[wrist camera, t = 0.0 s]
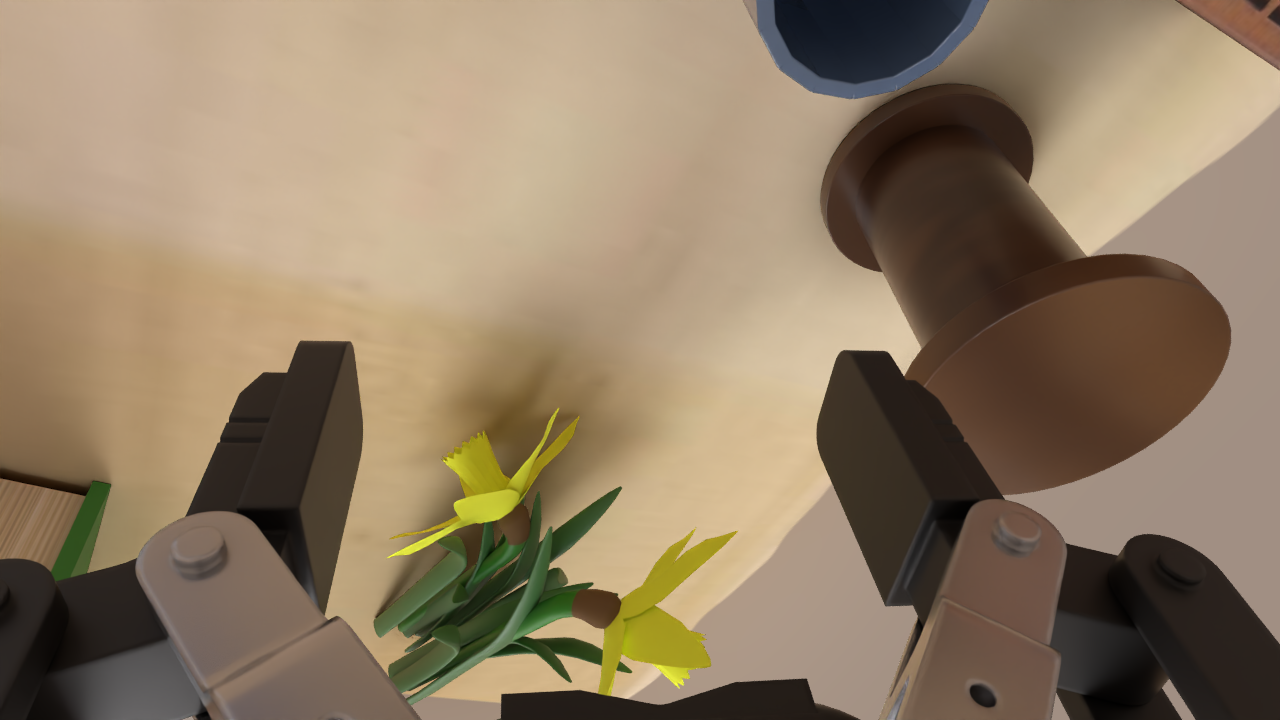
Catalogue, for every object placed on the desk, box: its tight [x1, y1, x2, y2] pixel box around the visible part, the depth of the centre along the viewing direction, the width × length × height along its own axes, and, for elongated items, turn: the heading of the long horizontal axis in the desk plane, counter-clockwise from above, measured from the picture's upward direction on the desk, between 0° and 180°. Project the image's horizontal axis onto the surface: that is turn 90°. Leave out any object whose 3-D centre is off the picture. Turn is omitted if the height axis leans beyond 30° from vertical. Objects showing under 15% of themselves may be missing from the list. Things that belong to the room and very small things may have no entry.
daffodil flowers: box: [374, 408, 738, 705], centre depth 48 cm, size 17×15×35 cm
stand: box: [820, 84, 1231, 495], centre depth 33 cm, size 11×11×14 cm
